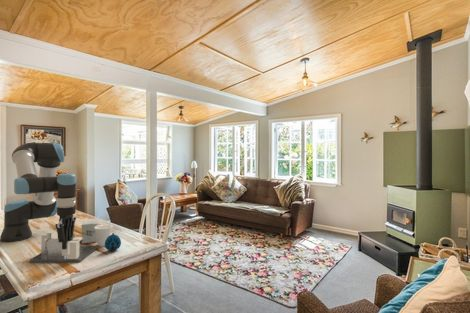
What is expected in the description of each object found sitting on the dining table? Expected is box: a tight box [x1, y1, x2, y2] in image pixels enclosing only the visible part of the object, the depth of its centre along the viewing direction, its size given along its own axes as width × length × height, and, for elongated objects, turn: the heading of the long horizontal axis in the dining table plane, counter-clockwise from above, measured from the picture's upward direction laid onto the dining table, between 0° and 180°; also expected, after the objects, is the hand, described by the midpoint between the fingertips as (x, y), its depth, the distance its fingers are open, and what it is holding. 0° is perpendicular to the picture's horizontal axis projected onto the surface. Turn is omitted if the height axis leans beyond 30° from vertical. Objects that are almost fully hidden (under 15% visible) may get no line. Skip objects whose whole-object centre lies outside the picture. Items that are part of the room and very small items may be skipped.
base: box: [29, 232, 98, 263], centre depth 136 cm, size 24×18×11 cm
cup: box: [94, 223, 113, 247], centre depth 152 cm, size 10×10×11 cm
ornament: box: [104, 232, 122, 252], centre depth 144 cm, size 8×5×10 cm, turn 114°
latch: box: [68, 236, 83, 259], centre depth 131 cm, size 4×6×9 cm, turn 4°
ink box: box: [81, 219, 99, 245], centre depth 158 cm, size 9×9×12 cm
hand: (65, 254), depth 123 cm, fingers closed
